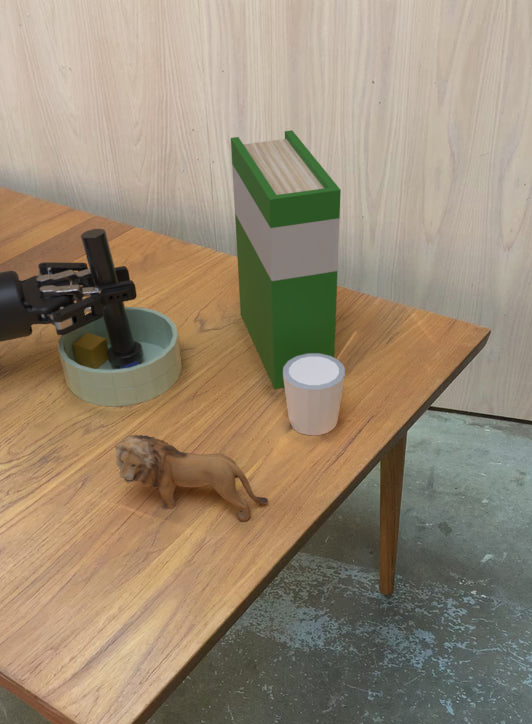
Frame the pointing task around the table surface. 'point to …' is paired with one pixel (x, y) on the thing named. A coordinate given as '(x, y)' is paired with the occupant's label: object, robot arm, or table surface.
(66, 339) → the bowl
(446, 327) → the table surface
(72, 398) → the table surface
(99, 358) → the mustard block
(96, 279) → the black flashlight
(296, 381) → the white cup
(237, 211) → the hardback book
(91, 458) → the table surface
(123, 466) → the lion figurine
